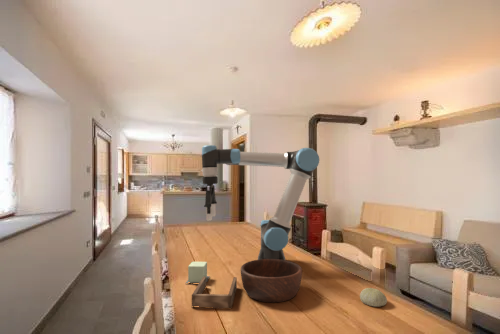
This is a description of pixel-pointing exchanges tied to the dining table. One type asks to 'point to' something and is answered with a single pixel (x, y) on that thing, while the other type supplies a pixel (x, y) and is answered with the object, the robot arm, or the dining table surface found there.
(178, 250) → the dining table surface
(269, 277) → the wooden bowl
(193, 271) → the sage block
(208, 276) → the slate mat
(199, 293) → the walnut cubby
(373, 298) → the sea urchin shell
